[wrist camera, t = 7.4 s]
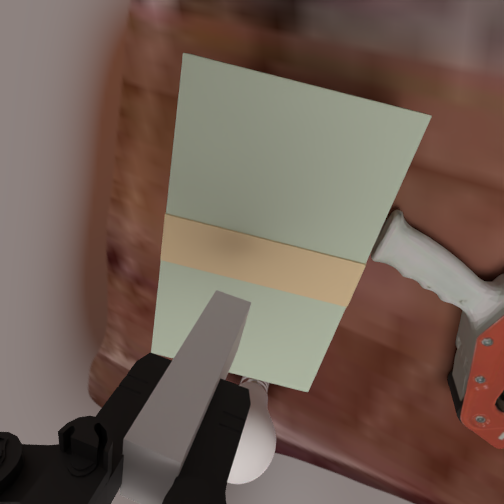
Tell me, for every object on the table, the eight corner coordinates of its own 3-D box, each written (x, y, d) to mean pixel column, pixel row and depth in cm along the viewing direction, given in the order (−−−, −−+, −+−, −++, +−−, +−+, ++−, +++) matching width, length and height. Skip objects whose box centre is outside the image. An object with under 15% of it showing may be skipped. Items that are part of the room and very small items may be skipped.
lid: (188, 53, 16) (182, 52, 15) (425, 113, 16) (433, 116, 15) (155, 344, 25) (150, 354, 24) (307, 383, 25) (307, 394, 24)
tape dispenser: (367, 204, 29) (385, 395, 35) (366, 224, 24) (387, 440, 31) (654, 169, 22) (611, 409, 29) (728, 187, 18) (657, 468, 24)
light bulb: (216, 360, 38) (172, 455, 28) (267, 342, 35) (237, 441, 26) (249, 402, 40) (218, 505, 30) (300, 388, 37) (283, 497, 27)
